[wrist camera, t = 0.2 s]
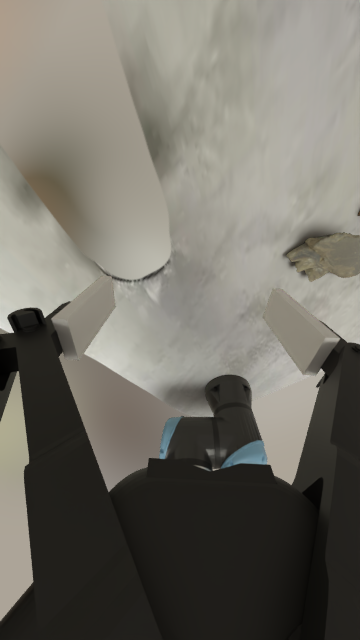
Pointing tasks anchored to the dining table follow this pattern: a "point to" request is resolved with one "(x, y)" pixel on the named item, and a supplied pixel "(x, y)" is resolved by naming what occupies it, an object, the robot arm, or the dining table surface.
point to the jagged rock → (328, 256)
